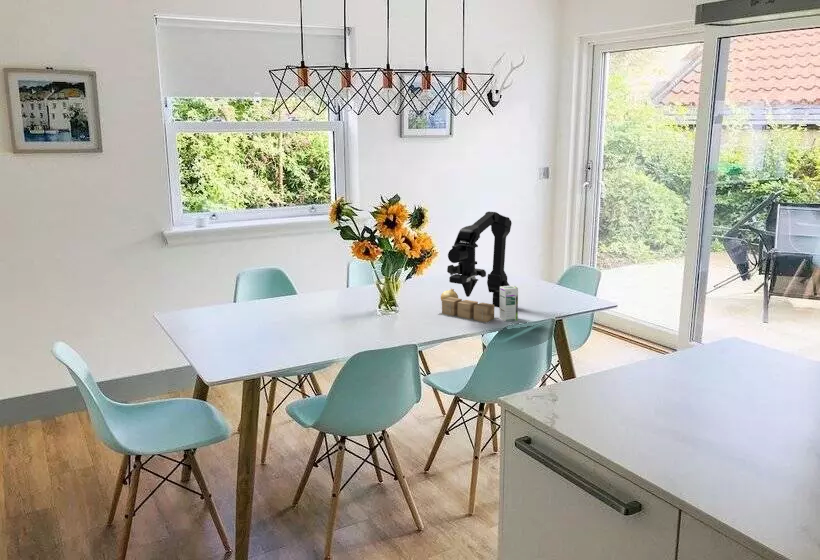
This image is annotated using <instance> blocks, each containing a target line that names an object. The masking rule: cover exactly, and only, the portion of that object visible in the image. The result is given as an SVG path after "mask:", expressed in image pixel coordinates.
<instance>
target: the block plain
mask: <svg viewBox="0 0 820 560" xmlns="http://www.w3.org/2000/svg"><path fill="white" fill-rule="evenodd" d="M477 304H479V302H478V301H476V300H475V301H474V300H470V299H464V300H462V301H461V302H458V317H462V318H467V319H471V318H473V317H474V305H477Z"/></svg>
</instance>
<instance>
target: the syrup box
mask: <svg viewBox="0 0 820 560" xmlns="http://www.w3.org/2000/svg"><path fill="white" fill-rule="evenodd" d="M518 309H519V287H517V286H516V285H510V286H500V308H499V319H500V320H502V321H503V322H516V321H518V320H519V319H518V318H519V316H518V315H519V310H518Z"/></svg>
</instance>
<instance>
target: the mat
mask: <svg viewBox="0 0 820 560" xmlns="http://www.w3.org/2000/svg"><path fill="white" fill-rule="evenodd" d="M438 315H439V316H443V317H449V318H454V319H458V320H465V321H470V322H475V323H479V324H485V325H486V324H488V323H491V322H494V321H496V320H498V319H500V317H495V316H494V319H493V320H490V321H488V322H483V321H477V320H474V317H473V318H471V319H467V318H462V317H458V314H457V315H455V316H452V315H447V314H442V312H439V313H437V316H438Z"/></svg>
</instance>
